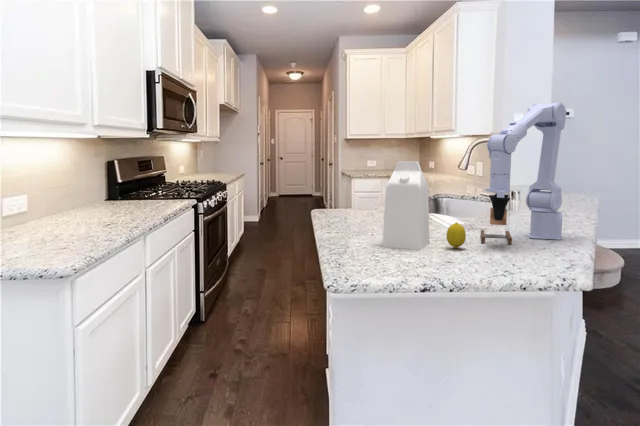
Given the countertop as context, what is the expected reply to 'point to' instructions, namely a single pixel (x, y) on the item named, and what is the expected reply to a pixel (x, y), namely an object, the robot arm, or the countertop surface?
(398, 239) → the milk
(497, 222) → the block
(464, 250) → the countertop surface
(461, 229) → the lemon
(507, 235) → the channel
